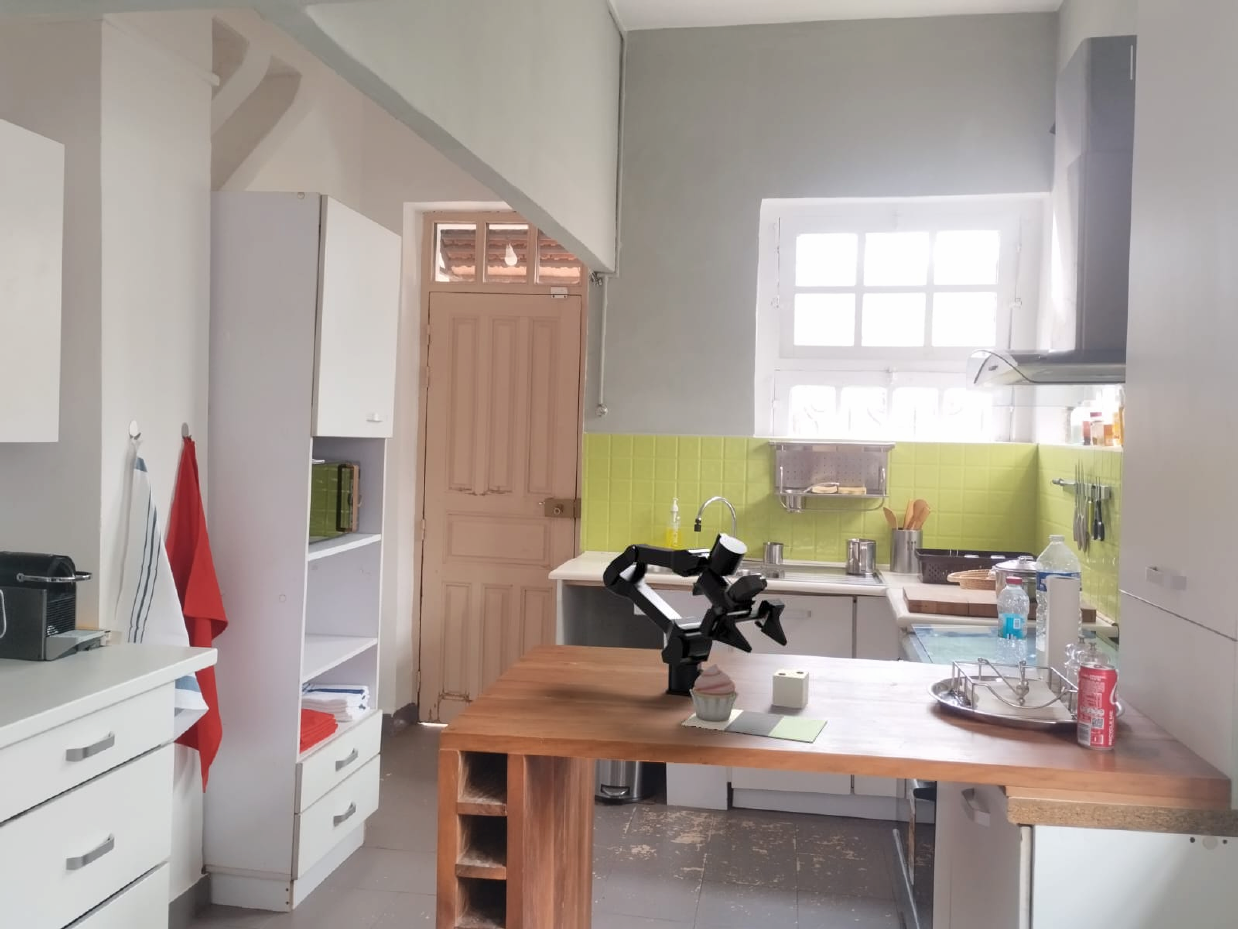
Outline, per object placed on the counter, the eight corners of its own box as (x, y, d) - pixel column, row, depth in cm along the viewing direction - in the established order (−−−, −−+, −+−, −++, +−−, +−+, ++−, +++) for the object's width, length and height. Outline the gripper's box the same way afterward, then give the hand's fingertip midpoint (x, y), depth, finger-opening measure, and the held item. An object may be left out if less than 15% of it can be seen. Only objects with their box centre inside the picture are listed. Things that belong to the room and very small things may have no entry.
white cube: (772, 705, 194) (773, 674, 194) (778, 698, 200) (779, 668, 199) (802, 709, 192) (803, 678, 192) (808, 701, 197) (809, 671, 197)
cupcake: (736, 726, 178) (737, 671, 178) (685, 722, 180) (686, 668, 180) (740, 712, 188) (741, 660, 187) (692, 708, 189) (693, 657, 189)
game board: (681, 725, 179) (681, 724, 179) (704, 706, 192) (704, 705, 192) (812, 743, 170) (812, 741, 170) (826, 722, 183) (826, 721, 183)
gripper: (700, 566, 185) (748, 622, 174) (771, 558, 196) (820, 609, 185) (680, 610, 190) (725, 667, 180) (749, 600, 201) (796, 652, 191)
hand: (768, 647), depth 184 cm, fingers open, 9 cm apart
